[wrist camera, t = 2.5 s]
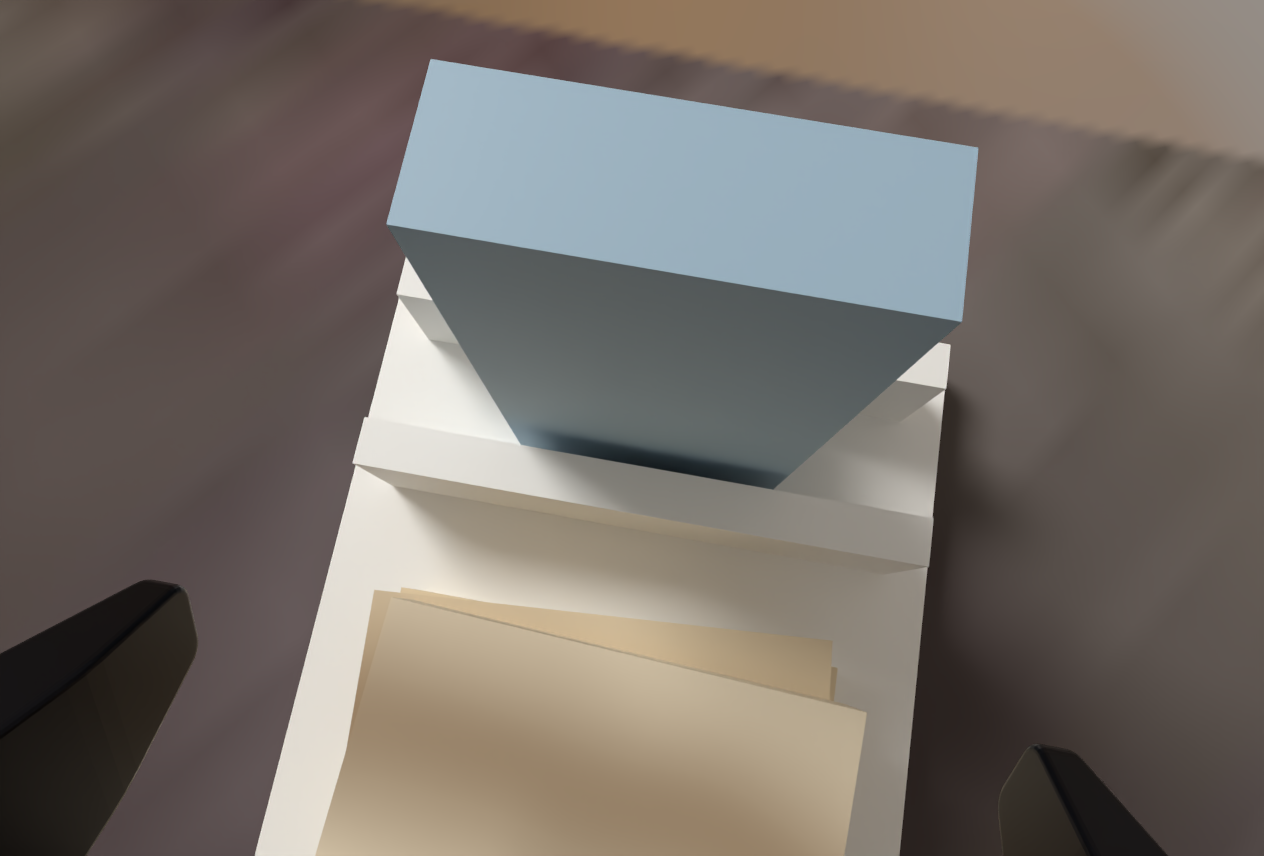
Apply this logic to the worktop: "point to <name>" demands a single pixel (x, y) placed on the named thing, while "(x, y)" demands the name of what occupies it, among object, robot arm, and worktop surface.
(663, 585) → the rack
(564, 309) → the blue rectangular block
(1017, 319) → the worktop surface
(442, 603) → the offcut stack
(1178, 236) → the worktop surface
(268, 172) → the worktop surface
